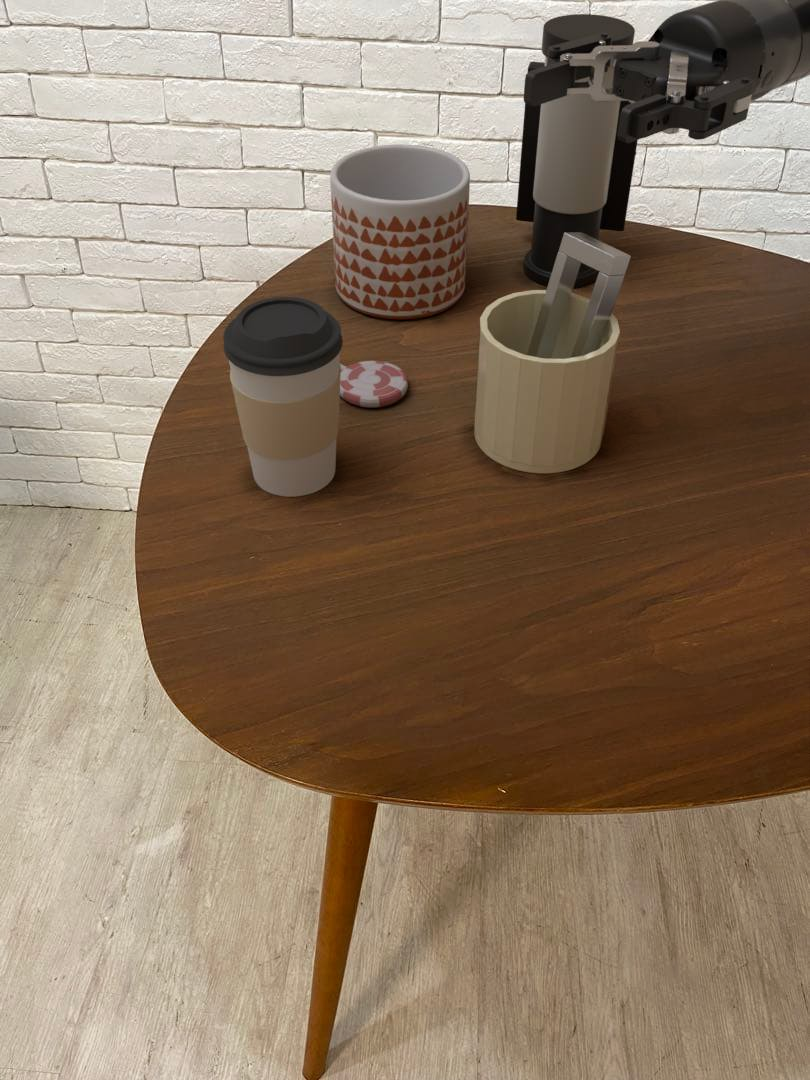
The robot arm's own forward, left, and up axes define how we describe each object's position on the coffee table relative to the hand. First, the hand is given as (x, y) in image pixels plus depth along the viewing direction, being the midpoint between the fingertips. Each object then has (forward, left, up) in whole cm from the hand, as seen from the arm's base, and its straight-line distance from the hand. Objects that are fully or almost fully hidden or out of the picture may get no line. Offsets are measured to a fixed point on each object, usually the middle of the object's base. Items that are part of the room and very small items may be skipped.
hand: (573, 107), depth 70 cm
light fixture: (+6, -35, -30) cm, 46 cm away
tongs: (+1, -4, -29) cm, 29 cm away
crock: (+1, -4, -30) cm, 30 cm away
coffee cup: (+19, +8, -30) cm, 36 cm away
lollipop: (+21, -7, -30) cm, 37 cm away
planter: (+21, -24, -30) cm, 43 cm away
